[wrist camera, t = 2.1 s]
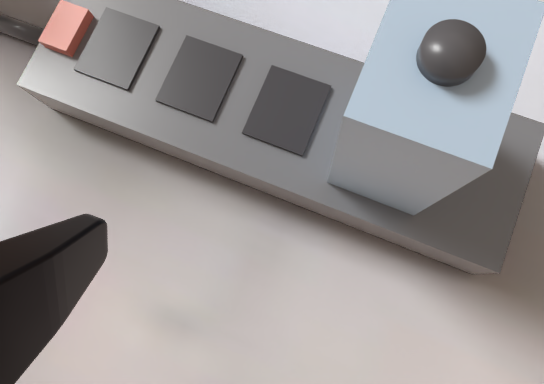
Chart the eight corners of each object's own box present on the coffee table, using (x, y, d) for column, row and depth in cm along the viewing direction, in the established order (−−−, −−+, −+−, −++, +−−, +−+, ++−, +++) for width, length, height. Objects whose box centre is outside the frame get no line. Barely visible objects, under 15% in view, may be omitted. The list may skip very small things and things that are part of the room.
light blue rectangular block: (436, 128, 22) (560, -12, 11) (403, 221, 21) (502, 162, 10) (360, 102, 22) (410, -55, 12) (324, 191, 21) (345, 106, 11)
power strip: (514, 145, 22) (554, 119, 19) (472, 274, 21) (506, 273, 18) (6, -32, 27) (-39, -80, 23) (-52, 67, 25) (-108, 33, 22)
